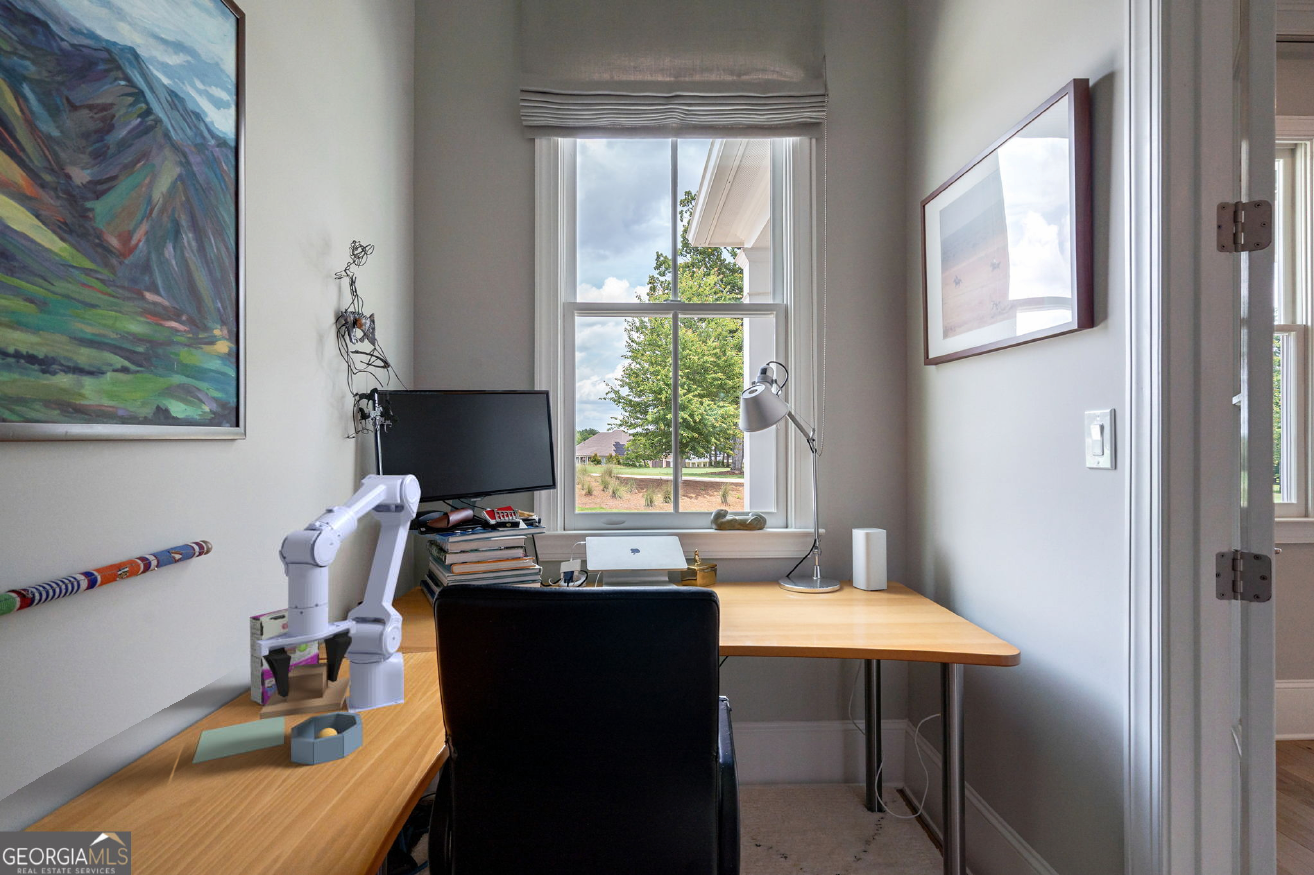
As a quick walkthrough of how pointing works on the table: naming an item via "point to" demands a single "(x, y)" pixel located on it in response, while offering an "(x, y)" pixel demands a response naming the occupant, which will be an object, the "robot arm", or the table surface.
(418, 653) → the table surface
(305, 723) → the bowl
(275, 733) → the mat
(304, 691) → the lid
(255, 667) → the candy bar box
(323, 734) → the orange ball
